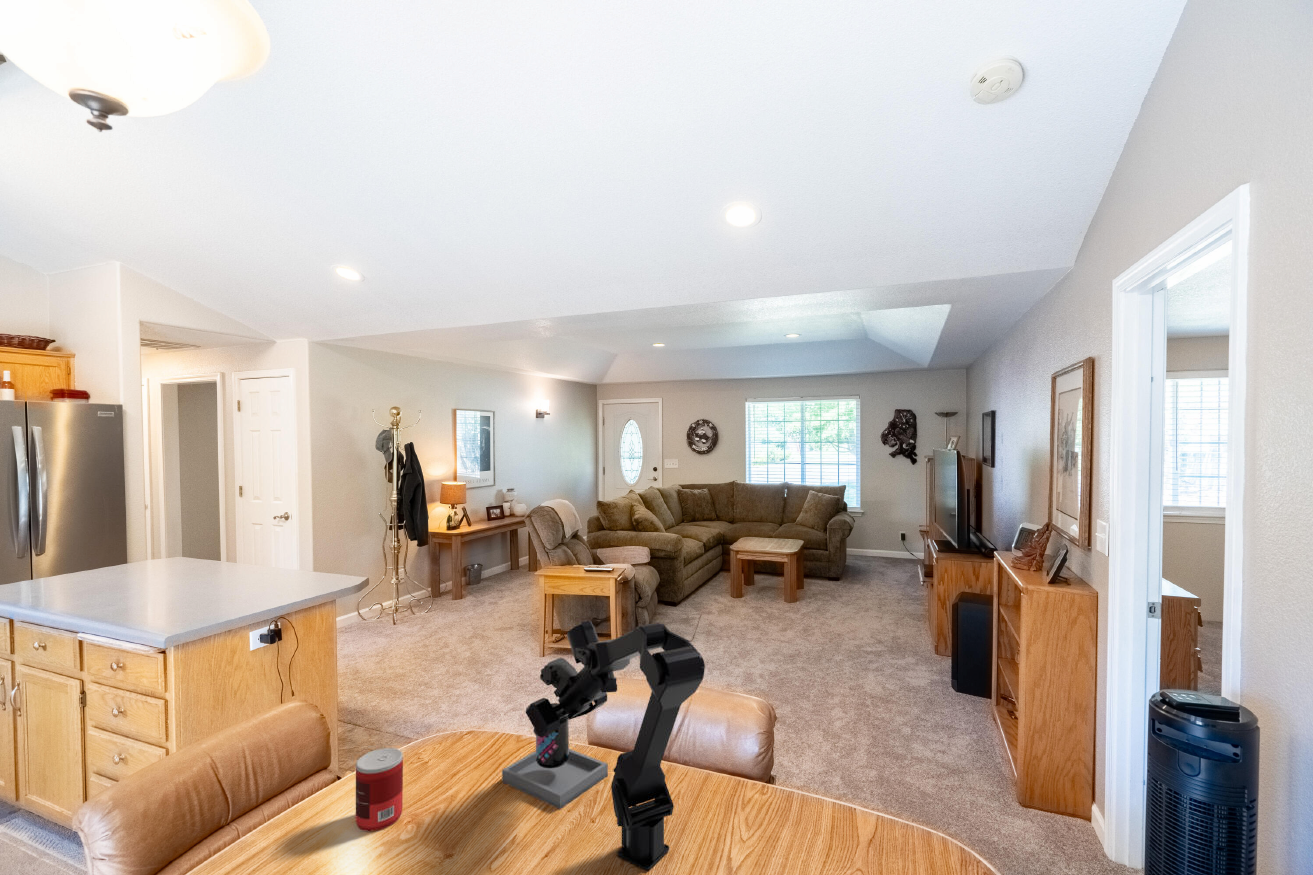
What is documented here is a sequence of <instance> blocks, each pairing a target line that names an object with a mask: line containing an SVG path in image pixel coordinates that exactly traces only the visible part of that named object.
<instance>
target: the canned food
mask: <svg viewBox="0 0 1313 875" xmlns="http://www.w3.org/2000/svg"><path fill="white" fill-rule="evenodd" d="M403 776H404V755H403V752H402V750H400V749H398V748H394V747H387V748H386V747H385V748H379V749H375V750H372V751H369V752H367V753H365V754H363V755H362V756H360V758H358V759H357V761H356V764H355V824H356V826H357V828H358V829H359V830H362V831H363V830H364V832H376V831H380V830H383V829H386V828H388V827H391V826H392V825H394V824H395V823H396V822H397V821H399V819H400V817H401V814H402V812H403V804H404V803H403V802H404V801H403V798H404V797H403V796H404V795H403V793H404V791H403V788H404V784H403V781H404V780H403V779H404V777H403Z"/></svg>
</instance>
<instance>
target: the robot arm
mask: <svg viewBox="0 0 1313 875" xmlns="http://www.w3.org/2000/svg"><path fill="white" fill-rule="evenodd" d="M566 635H567V636H566V637H567V639H568V643H569V646H570V649H571V652H572V655H573V658H574V662H575V663H576V664H579V663H580V664H582V665H583V667H582V668H581V670H580V671H579V672H578V670H577V669H576V668H575V667H574V666H573V665H572V664H571V663H570V662H569V661H567V660H566V659H565V658H563V657H559V658H556V659H553V660H552V661H549V662H547V664H546V665H544V667H543V668H541V669H540V675H539V678H540V680H541V681H542V682H543V683H544V684H545V685H546V686H552V687H554V688H555V690H554V691H553V693H554V695H555V697H556V698H558V699H557V701H558V703H559V705H557V706H555V707H552V705H551V703H552V702H550V700H549V698H546V697H542V698H540V699H538V700H536V701H533V702H531V703H530V704H529V705H528V706H527V707H526V709H525V714H526V716H527V717H528V718H527V719H529V721H530V724H532V727H533V729H532V731H533V734H534V735H535V736H536V735H538V736H540V737H542V738H543V737H545V736H546V735H548V734H550V733H552V732H554V731H556V730H558V727H559V726H560V718H562V717H564V716H566V715H568V714H569V721H570V720H573V719H576V718H578V717H582V716H585V715H587V714H589V713H591V712H593V711H594V710H596V709H598V708H600V707H602V706H603V705H604V704H606V703H607V702H608V693H616V692H618V683H617V680H618V679H617V677H616V676H615V673H614V672H618V671H622V670H624V669H625V668H627V667H628V666H629V665H630V664H631V659H633V658H636V657H638V656H639V669H640V671H641V672H642V673H643V674H644V676H645V679H646V680H645V681H646V682H647V684H648V686H649V688H650V690H651V692H650V697H649V699H648V704H647V706H646V708H645V713H644V715H643V719H642V721H641V724H640V728H639V731H638V734H637V737H636V740H635V743H634V747H633V750H630V751H629V750H628V751H626V752H622V753H619V755H618V756H617V758H616V764H615V767H614V768H613V769H612V770H613V772H614V775H613V778H612V780H611V786H610V790H611V796H612V797H611V798H612V803H613V812H614V815H615V818H616V825H617V826H618V827H621V846H622V847H621V848H620V849H619V850H618V851H617V852H616V853H617V854H616V855H617V857H619V858H621V859H623V860H625V861H627V862H629V863H631V864H633V865H635V866H637V867H639V868H641V869H643V870H645V871H649V870H651V869H652V868H653V867H654V866H655V865H656V864H657V863H658V862H659V861H660V860H661V859H662V858H663V857H664V856H665V855H666V854H667V853H668V852H669V851H670V846H669V845H668V844H665V817H668V816H669V817H670V816H673V812H674V808H675V806H674V803H673V799H672V797H671V794H670V791H669V788H668V786H667V783H666V774H665V773H664V770H663V769H662V766H661V763H662V761H663V757H664V754H665V752H666V749H667V746H668V743H669V741H670V738H671V734H672V732H673V729H674V726H675V723H676V720H677V717H678V714H679V711H680V709H681V706H682V704H683V703H685V701H686V700H688V699H689V698H690V697H692V696H693V695H694V694H695V692H696V691H697V690H698V688H699V687H700V684H701V683H702V681H703V679H704V676H705V667H706V665H705V660H704V657H703V656H702V655H701V652H699V650H697V648H696V647H695V646H694V645H693V643H691V642H690V640H688V639H687V638H685V637H683V636H681V635H678V634H676V633H675V632H672V631H670V630H669V629H668V628H667V626H666V625H665V624H663V623H659V622H655V623H648V624H644V625H643V624H642V625H637V627H636V628H634V629H633V630H631V631H629V632H627V633H625V634H623V635H621V636H619V637H617V638H613V639H608V640H602V641H601V640H600V639H599V635H598V634H597V631H596V628H595V625H594V624H593V623H592V620H583V621H581V622H580V623H579V624H578V625H576V626H574V627H572V628H571V629H570V630H568V631H567V634H566ZM656 649H662V650H663V651H662V650H661V651H659V652H655V653H652V654H651V652H650V651H653V650H656ZM593 703H594V704H593ZM563 710H564V711H563ZM561 711H562V712H561ZM559 712H560V713H559ZM557 713H558V714H557Z"/></svg>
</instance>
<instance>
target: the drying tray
mask: <svg viewBox="0 0 1313 875" xmlns="http://www.w3.org/2000/svg"><path fill="white" fill-rule="evenodd" d="M608 765H609V764H608V763H607V762H604V761H601V760H599V759H597V758H593V757H591V756H588V755H586V754H583V753H581V752H578V751H576V750H573V749H571V748H569V758H568V760H567V762H566V763H565V764H564V765H562V766H560V767H557V768H543V767H541V766H539V765H538V764H537V762H536V750H535V751H533V752H531V753H529V754H528V755H526V756H524V757H522V758H520V759H519V760H517V761H515V762H513V763H512V764H510V765H508V766H507V767H505V768H503V769H502V772H501V773H502V774H501V775H502V776H501V782H502V783H503V784H505V785H508V786H510V787H513V788H514V789H516V790H518V791H520V790H521V792H523V793H524V794H527V795H529V796H531V797H534V798H536V799H537V800H539V801H542V802H544V803H546V804H548V805H550V806H552V807H554V808H557V809H559V810H561V809H563V808H564V807H566V806H567V805H568V804H570V803H571V802H572V801H574V800H576V799H577V798H579V797H580V796H581V795H582V794H584V793H586V792H587V791H588V790H589V789H591V788H593V787H594V786H595V785H597V784H599V782H601V781H603V780H604V779H606V778H607V777H609V776H608V774H609V773H608V772H609V771H608V770H609V768H608V767H609V766H608Z"/></svg>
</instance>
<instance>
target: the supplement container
mask: <svg viewBox="0 0 1313 875" xmlns="http://www.w3.org/2000/svg"><path fill="white" fill-rule="evenodd" d="M550 703H551V705H552V707H555V706H557V705H559V704H560V703H559V702H558V703H557V702H556V703H555V702H554V703H552V702H550ZM563 711H564V710H563ZM561 712H562V711H561ZM559 713H560V712H559ZM557 714H558V713H557ZM569 721H570V720H569V714H568V715H566V716H564V717H562V718H560V726H559V727H558V730H556V731H554V732H552V733H550V734H548V735H546V736H545V737H543V738H542V737H540V736H538V735H535V751H536V762H537V764H538V765H539V766H541V767H543V768H557V767H560V766H562V765H564V764H565V763H566V762H567V760H568V758H569V749H570V748H569V746H570V742H569V739H570V737H569V736H570V735H569V733H570V732H569V729H570V727H569V725H570V722H569Z"/></svg>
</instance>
